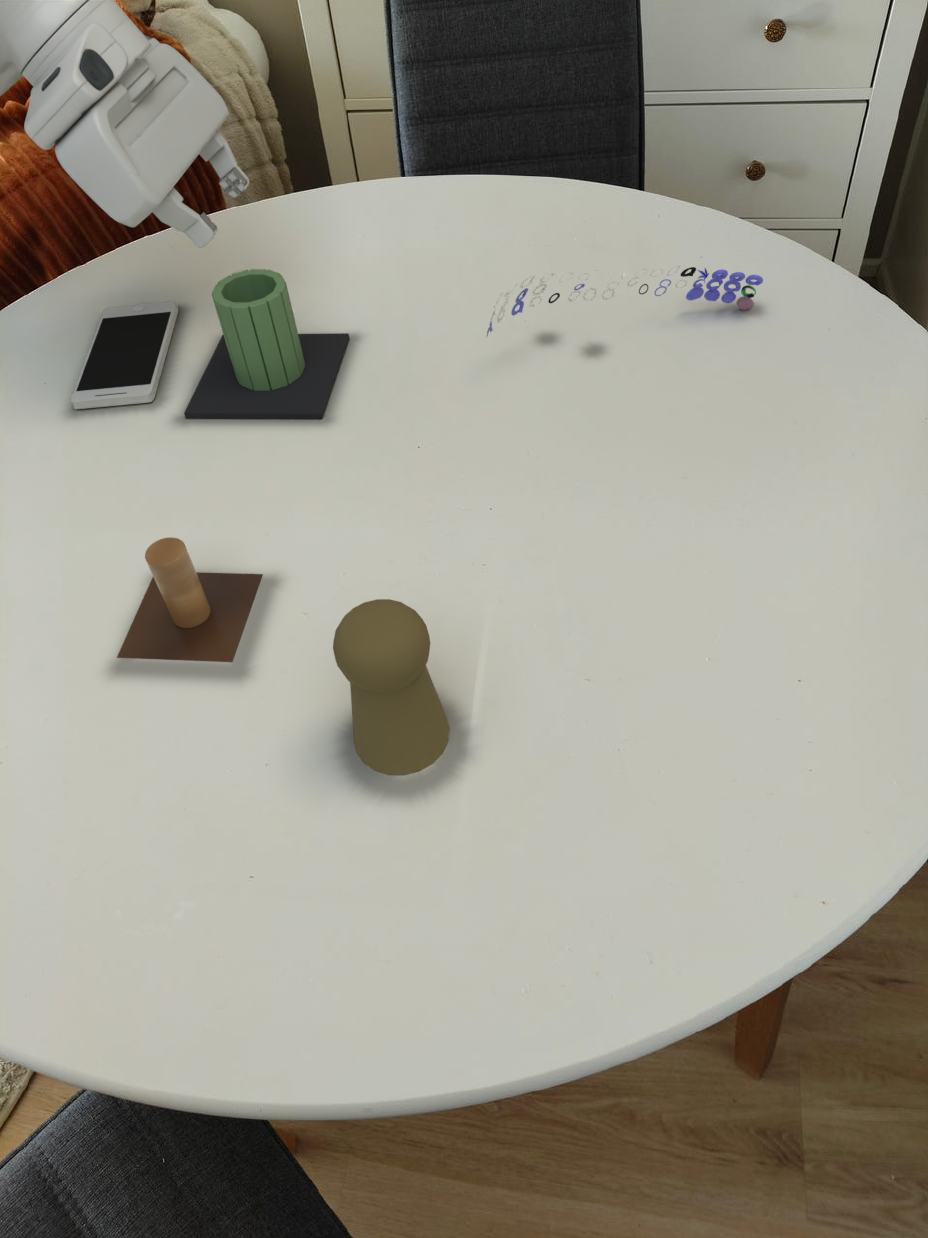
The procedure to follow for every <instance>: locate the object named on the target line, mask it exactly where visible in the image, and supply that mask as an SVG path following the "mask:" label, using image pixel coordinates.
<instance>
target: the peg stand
mask: <svg viewBox="0 0 928 1238" xmlns="http://www.w3.org/2000/svg"><path fill="white" fill-rule="evenodd" d="M144 559H145V561H146V564H147V566H148V568H149V570H150V573H151V575H152V578H151V580H150V583H149V585H148V586H147V589H146V591H145V593H144V595H143V598H142V600H141V602H140V605H139V606H138V609H137V611H136V613H135V616H134V618H133V620H132V622H131V624H130V627H129V629H128V631H127V633H126V636H125V638H124V640H123V642H122V645H121V647H120V649H119V651H118V653H117V656H116V658H117V659H136V660H164V661H167V660H168V661H185V662H188V661H190V662H211V663H212V662H213V663H234V659H235V657H236V653H237V651H238V648H239V646H240V642H241V640H242V637H243V633H244V631H245V628H246V624H247V622H248V620H249V616H250V614H251V610H252V608H253V605H254V602H255V599H256V596H257V593H258V591H259V588H260V585H261V582H262V579H263V576H264V574H263V573H240V572H239V573H238V572H237V573H234V572H233V573H232V572H203V571H202V572H201V571H200V572H197V571H196V568H195V566H194V564H193V561H192V559H191V556H190V554H189V551H188V548H187V546H186V543H185V542H184V541H183V540H182V539H180V538H178V537H163V538H160V539H158V540H155V541H153V543H151V544H150V545H149V546H148V547H147V548H146V550H145V552H144Z"/></svg>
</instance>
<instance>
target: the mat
mask: <svg viewBox="0 0 928 1238" xmlns="http://www.w3.org/2000/svg"><path fill="white" fill-rule="evenodd" d="M298 336H299V340H300V344H301V348H302V353H303V357H304V361H305V368H304V370H303V373H302V375H300V377H299V378H298V379H296V380H295V381H294V382H292V383H291V384H288V386H285V387H282V388H278V389H275V390H272V389H271V390H270V391H254V390H251V389H248V388H246V387H244V386H242V385H240V384H239V382H238V380H237V378H236V375H235V372H234V368H233V365H232V362H231V358H230V355H229V352H228V348H227V345H226V342H225V338H224V335H223V334H222V335H221V337H220V339H219V341H218V343H217V346H216V348H215V349H214V351H213V353H212V355H211V358H210V360H209V362H208V364H207V366H206V367H205V370H204V372H203V373H202V376H201V378H200V380H199V382H198V384H197V386H196V388H195V390H194V392H193V394H192V396H191V398H190V399H189V403H188V404H187V405H186V407H185V409H184V412H183V414H184V417H185V419H222V420H223V419H224V420H225V419H227V420H228V419H231V420H232V419H233V420H234V419H235V420H236V419H239V420H241V419H242V420H243V419H244V420H245V419H246V420H249V419H252V420H253V419H254V420H255V419H256V420H257V419H258V420H261V419H262V420H272V419H273V420H322V419H323V418H324V415H325V412H326V409H327V406H328V403H329V400H330V397H331V395H332V391H333V388H334V385H335V382H336V380H337V377H338V374H339V371H340V369H341V366H342V362H343V359H344V357H345V353H346V351H347V348H348V345H349V342H350V333H347V332H346V333H343V332H342V333H298Z"/></svg>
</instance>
